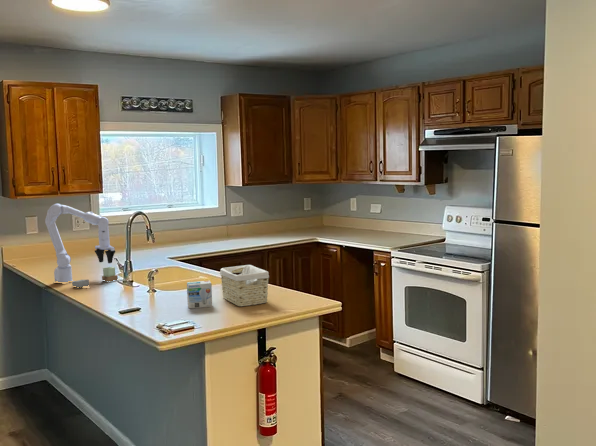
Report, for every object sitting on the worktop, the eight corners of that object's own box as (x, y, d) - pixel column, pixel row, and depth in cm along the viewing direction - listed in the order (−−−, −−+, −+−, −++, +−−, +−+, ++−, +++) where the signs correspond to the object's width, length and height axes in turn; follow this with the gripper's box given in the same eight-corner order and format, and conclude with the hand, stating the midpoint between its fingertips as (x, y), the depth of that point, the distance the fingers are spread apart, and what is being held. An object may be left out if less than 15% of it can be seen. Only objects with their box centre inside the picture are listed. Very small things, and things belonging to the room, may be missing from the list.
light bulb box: (188, 309, 258) (187, 284, 257) (187, 305, 265) (186, 282, 263) (213, 306, 261) (211, 282, 260) (210, 303, 268) (209, 280, 266)
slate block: (72, 288, 310) (72, 281, 310) (82, 286, 315) (81, 279, 315) (79, 288, 307) (79, 281, 306) (89, 286, 312) (88, 279, 311)
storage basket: (220, 298, 278) (218, 267, 276) (251, 293, 285) (250, 263, 283) (237, 308, 256) (235, 275, 255) (271, 303, 263) (270, 271, 262)
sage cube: (103, 276, 324) (102, 268, 324) (110, 274, 328) (109, 266, 328) (108, 276, 322) (108, 268, 321) (115, 275, 326) (114, 267, 325)
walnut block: (102, 282, 325) (101, 276, 325) (111, 280, 330) (111, 274, 329) (108, 283, 321) (107, 277, 321) (117, 281, 326) (117, 275, 325)
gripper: (118, 238, 327) (119, 262, 328) (101, 237, 335) (103, 260, 336) (108, 240, 321) (109, 264, 323) (91, 238, 329) (92, 262, 331)
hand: (105, 262), depth 329 cm, fingers open, 7 cm apart
